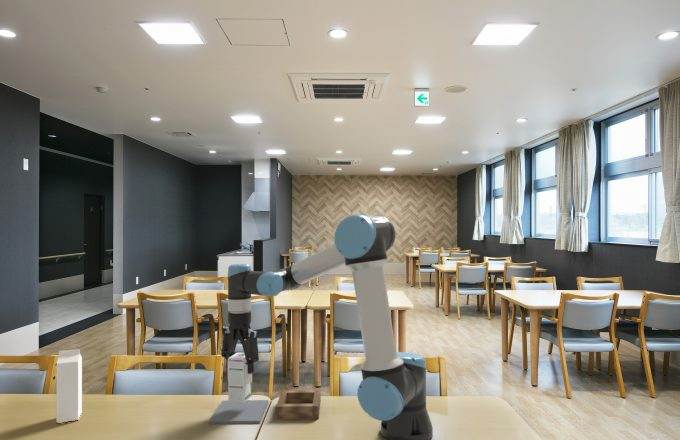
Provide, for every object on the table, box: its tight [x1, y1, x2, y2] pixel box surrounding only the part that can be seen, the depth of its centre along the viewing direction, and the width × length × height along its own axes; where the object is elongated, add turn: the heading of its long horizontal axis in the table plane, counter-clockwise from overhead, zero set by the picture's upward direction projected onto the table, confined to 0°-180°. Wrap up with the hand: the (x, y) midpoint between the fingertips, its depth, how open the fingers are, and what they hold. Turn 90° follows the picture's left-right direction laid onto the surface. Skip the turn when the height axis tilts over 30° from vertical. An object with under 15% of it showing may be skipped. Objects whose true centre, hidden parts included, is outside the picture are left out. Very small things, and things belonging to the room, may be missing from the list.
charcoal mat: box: [208, 399, 269, 425], centre depth 143 cm, size 16×16×1 cm
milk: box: [55, 348, 83, 422], centre depth 140 cm, size 6×6×22 cm
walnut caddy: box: [275, 389, 322, 420], centre depth 145 cm, size 14×14×4 cm
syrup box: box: [227, 352, 252, 403], centre depth 143 cm, size 6×6×14 cm
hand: (239, 380), depth 143 cm, fingers closed on syrup box, 7 cm apart
